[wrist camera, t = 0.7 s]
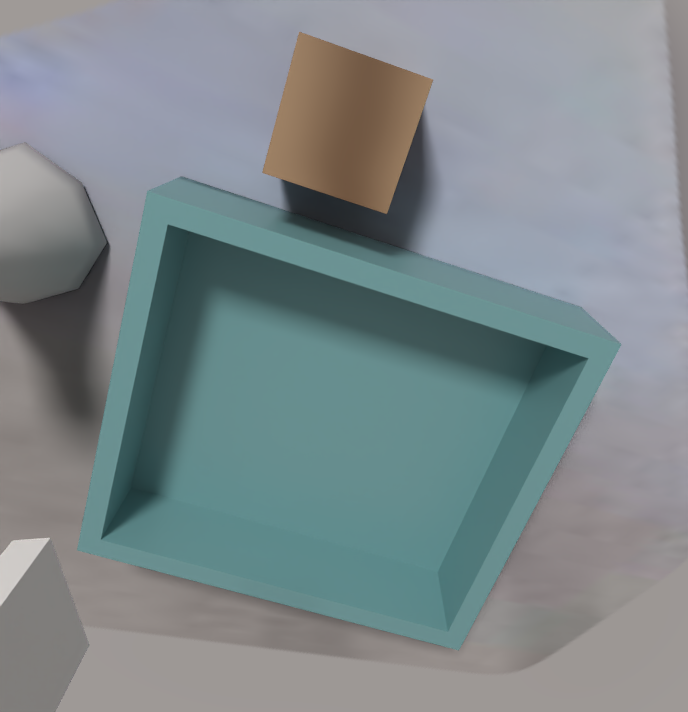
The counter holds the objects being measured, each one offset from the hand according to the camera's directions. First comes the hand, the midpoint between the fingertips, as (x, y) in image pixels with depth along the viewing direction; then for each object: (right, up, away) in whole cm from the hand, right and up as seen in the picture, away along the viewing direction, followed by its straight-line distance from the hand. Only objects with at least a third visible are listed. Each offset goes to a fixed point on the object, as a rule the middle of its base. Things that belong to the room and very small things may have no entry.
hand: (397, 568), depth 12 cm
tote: (-2, +1, +21) cm, 21 cm away
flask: (-16, +10, +18) cm, 26 cm away
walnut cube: (-1, +14, +16) cm, 21 cm away
